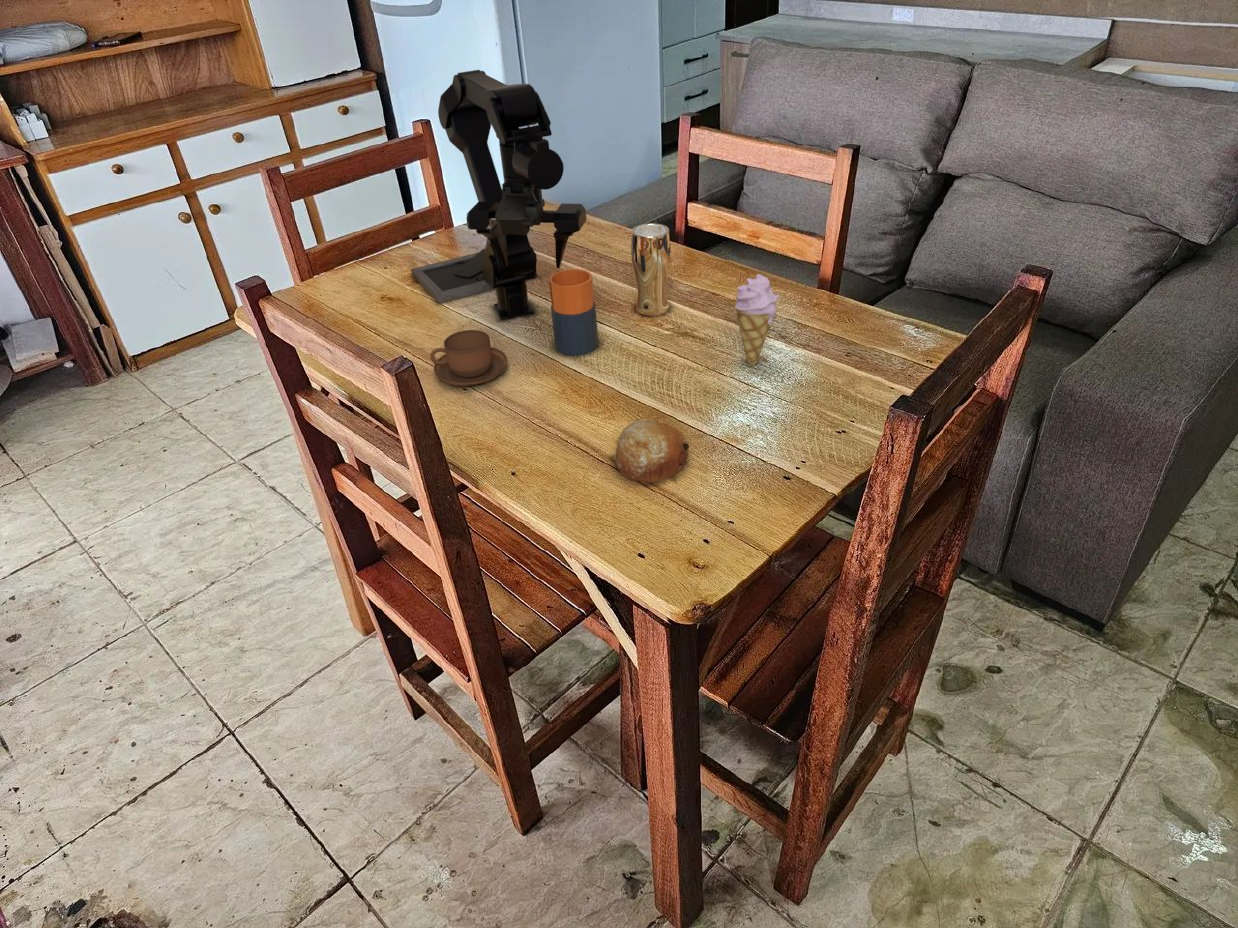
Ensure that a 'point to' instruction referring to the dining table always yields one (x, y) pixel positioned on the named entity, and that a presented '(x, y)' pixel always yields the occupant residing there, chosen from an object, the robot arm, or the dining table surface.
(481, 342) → the cup and saucer
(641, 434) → the bread roll
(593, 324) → the jar
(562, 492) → the dining table surface
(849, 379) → the dining table surface
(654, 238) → the beer glass
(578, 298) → the cup
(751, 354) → the ice cream cone
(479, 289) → the picture frame
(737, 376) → the dining table surface
